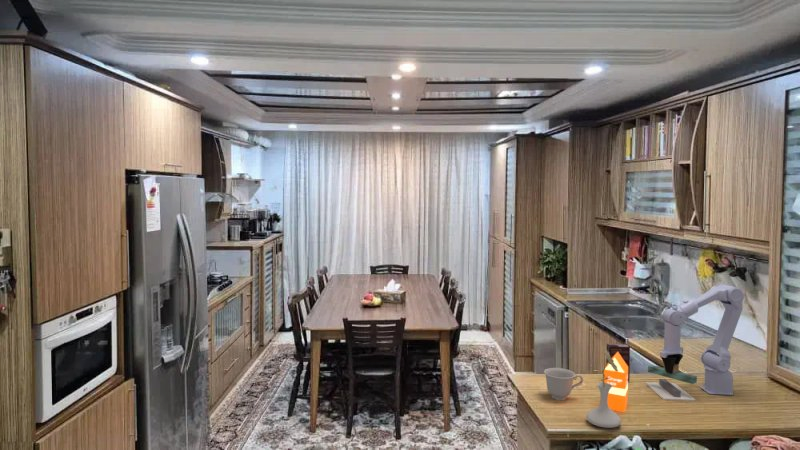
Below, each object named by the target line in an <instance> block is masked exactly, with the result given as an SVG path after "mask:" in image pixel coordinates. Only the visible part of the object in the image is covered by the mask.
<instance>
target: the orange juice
mask: <svg viewBox="0 0 800 450" xmlns="http://www.w3.org/2000/svg"><path fill="white" fill-rule="evenodd" d="M612 359H613V360H614V362H613V363H614V364H615V365H616V366H617V369H618V371H617V372H616V371H615V370H614V369H613V367H612V366H611V364H609V363H608V364H607V366H606V365H605V366H606V368H605V367H604V368H605V370H604V369H603V370H604V375H605V377H604V379H605V378H607V377H608V378H609V379H606V380H604V383H608V384H611V385H612V387H611V389H610V390H609V393H608V406H609V408H610V409H611V410H612V411H617V412H623V413H626V408H627V406H628V395H629V394H628V393H629V383H628V366H627V365H626V363H625V362H624V360H623V359H622V357H621V356H620V354H619V352H617V353H616V354H615V355H614V356H613V358H612Z"/></svg>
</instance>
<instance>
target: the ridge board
mask: <svg viewBox="0 0 800 450" xmlns="http://www.w3.org/2000/svg"><path fill="white" fill-rule="evenodd" d="M658 381H659V382H646V381H645V385H647V387H648V388H650V389H651V390H652V391H653V392H654V393H655V394H657V395H658V396H659V397H660V398H661V399H662V400H663V401H681V402H696V401H697V400H696V398H695V397H693V396H691V394H689V393H688V392H686V391H685V390H684V389H683V388H681V387H680V386H679V385H678V384H676V383H675V382H674V383H673V382H670V381H668V380H667V379H666V378H659V379H658Z"/></svg>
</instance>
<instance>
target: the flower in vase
mask: <svg viewBox="0 0 800 450" xmlns="http://www.w3.org/2000/svg"><path fill="white" fill-rule="evenodd" d="M603 353H604V355H605V358H607V359H608V362H607V364H608V363H609V364H611V366H612V367H613V369H614V370H615V371H616V372H617V371H618V369H617V366H616V365H615V364H614V363H613V362H614V360H613V359H611V357H610V354H609V353H607V350H604V352H603ZM607 364H605V365H604V367H603V370H601V373H602V379H601V381H602V382H601V381H600V382H597V383H596V386H597V388H598V389H599V393H600V403H599V405H598V406H596V407H594V408H593V409H591V410H590V411H587V413H586V416H585V417H586V419H587V421H588V423H590V424H592V425H594V426H597V427H600V428H605V429H613V428H618V427H619V426H620V425H622V420H621V417H620V416H618V414H617V413H616V412H615V411H614V410H611V409H610V408H609V406H608V393H609V390H610V389H611V387H612V385H611V384H608V383H604V380H606V379H609V378H608V377H607V378H605V379H604V377H605V375H604V370H605V368H606V366H607Z"/></svg>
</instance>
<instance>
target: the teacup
mask: <svg viewBox="0 0 800 450" xmlns="http://www.w3.org/2000/svg"><path fill="white" fill-rule="evenodd" d="M543 373H544V375H545V379H546V389H547V392H549V394H551V398H552V399H553V400H557V401H564V400H565V401H566V400H567V399H568V398H567V397H568V396H569V395H571V393H572V390H574V388H576V387H580V386H582V384H583V382H584V377H583V375H581V374H580V373H577V374H576V373H575V372H574V371H573V370H569V369H567V368H563V367H550V368H546V369H544V371H543ZM578 378H580V381H579V382H578V383H575V384H573V383H574V380H575V381H577V379H578Z"/></svg>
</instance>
